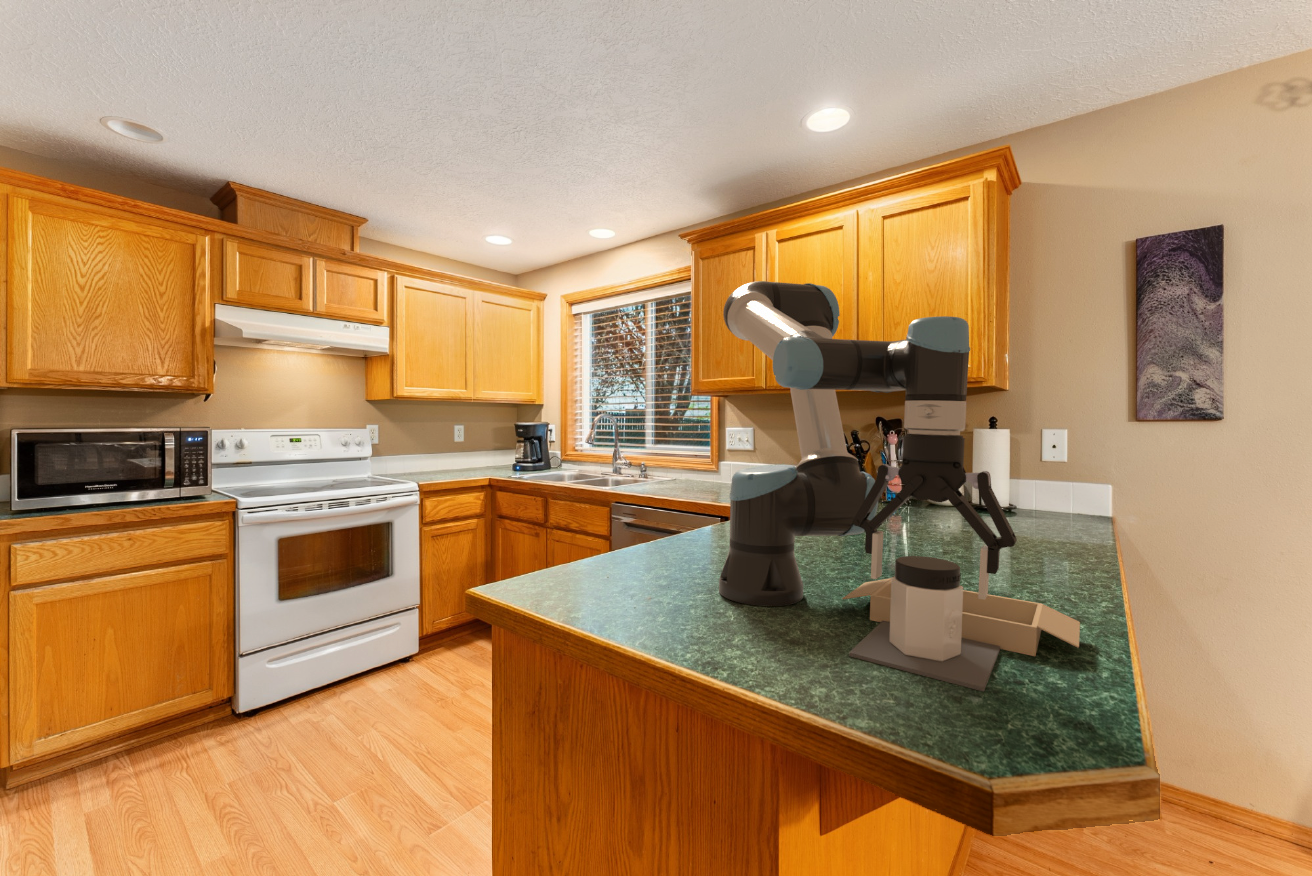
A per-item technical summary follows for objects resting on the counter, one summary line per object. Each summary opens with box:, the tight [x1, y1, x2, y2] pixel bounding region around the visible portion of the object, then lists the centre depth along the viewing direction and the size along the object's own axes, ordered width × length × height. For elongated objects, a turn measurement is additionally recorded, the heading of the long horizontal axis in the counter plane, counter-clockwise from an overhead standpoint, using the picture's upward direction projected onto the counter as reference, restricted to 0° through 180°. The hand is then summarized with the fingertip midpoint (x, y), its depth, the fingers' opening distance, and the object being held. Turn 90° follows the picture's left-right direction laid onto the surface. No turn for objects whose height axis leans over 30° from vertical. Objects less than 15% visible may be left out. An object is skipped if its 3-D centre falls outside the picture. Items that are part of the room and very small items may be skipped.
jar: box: [889, 555, 964, 662], centre depth 79 cm, size 9×8×12 cm
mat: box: [848, 621, 1001, 692], centre depth 79 cm, size 16×16×1 cm
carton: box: [842, 577, 1081, 657], centre depth 90 cm, size 32×13×4 cm, turn 53°
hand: (926, 586), depth 79 cm, fingers open, 13 cm apart
